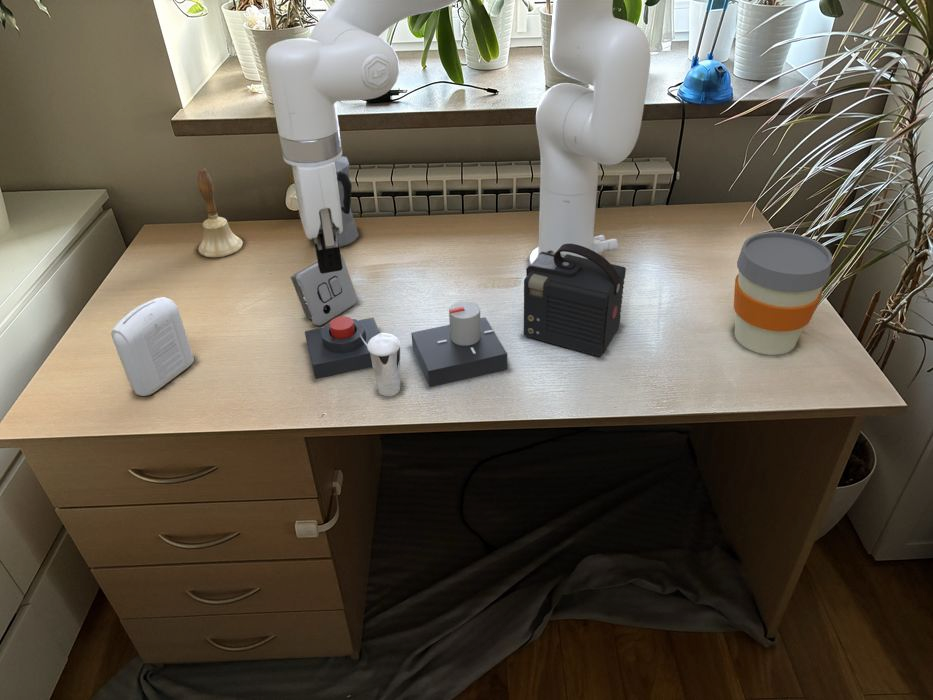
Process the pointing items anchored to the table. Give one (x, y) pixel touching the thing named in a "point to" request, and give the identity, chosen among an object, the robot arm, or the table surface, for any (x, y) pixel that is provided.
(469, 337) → the dial
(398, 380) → the milkshake
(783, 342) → the reusable coffee cup
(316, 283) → the electrical switch
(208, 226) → the hand bell
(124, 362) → the photo printer
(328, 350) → the power housing
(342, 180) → the coffeepot
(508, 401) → the table surface
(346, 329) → the power button
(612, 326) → the camera
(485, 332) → the panel
